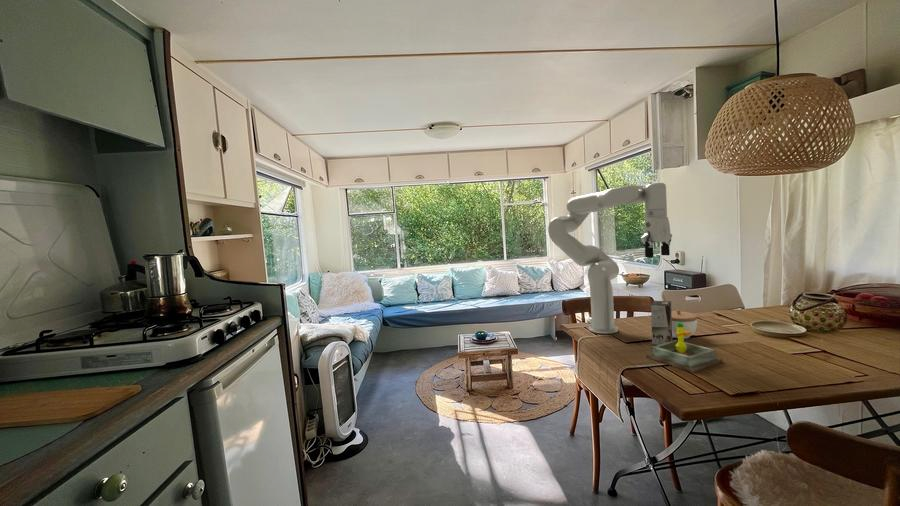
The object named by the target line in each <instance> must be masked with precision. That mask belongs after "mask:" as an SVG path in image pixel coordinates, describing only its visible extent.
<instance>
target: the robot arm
mask: <svg viewBox="0 0 900 506" xmlns="http://www.w3.org/2000/svg"><path fill="white" fill-rule="evenodd" d="M643 203H644V212H645V213H644V214H645V215H644V216H645V220H644V229H643V235H642V236H641V237H640V240H641V243H642V246H643V248H644V258H647V259H648V258H649V259H652V258H654V247H653V246H654V244H655V243H660V244H661V245H660V255H661V256H670V255H671V253H670V246H671V242H672V237H673V234H672V233H671V226H670V225H671V224H670V221H669V217H668V206H667V204H668V203H667V185H666V184H665V183H664V182H656V183H648V184H646V185H633V184H631V185H623V186H617V187H614V188H608V189H605V190H601V191H598V192H592V193H588V194H583V195H579V196H574V197H572V198H570V199H569V200H568V201H567V203H566V210H567V211H568V214H567V215H559V216H555V217H554V218H552V219H551V220H550V221H549V222H548V223H549V224H548V228H547V230H548V231H547V232H548V235H549V238H550V239H551V241H552V242H553V243H554V245H556V246H557V247H558V248H559V249H560V250H561V251H562V252H563V253H564V254H565V255H566V256H568V257H569V258H570V259H571V260H572V261H573V262H574V263H575V264H576V265H578V266H579V267H588V266H589V268H588V269H587V279H588V284H589V295H590V297H589V298H590V310H591V313H590V315H591V317H588V318H587V319H586V323H589V325H588V331H590V333H591V332H592V333H594V334H595V333H596V334H603V335H607V334H608V335H609V334H610V335H611V334H615V333H617V332H619V327H618V326H617V325H615V310H614V292H613V285H612V283H611V281H612V280H614V279H615V278H616V277H618V276H619V274H620V267H619V265H618V264H617V263H616V261H614V260H613V259H612V258H611V257H610V256H609V255H607V253H606V252H604V251H603V250H602V249H600V248H599V247H597V246H595V245H591V244H588V245H585V244H583V243H582V242H581V241H579V240H578V239H577V238H576V237H575V236H573V235H571V234H570V233H573V232H575V231H576V230H578V229H579V228H580V226H581V225H582V224H583V223H584V221H585V220H586V219H587V218H588V216H589V215H590V213H596V212H602V211H605V210H606V209H610V208H613V207H616V206H624V205H639V204H643Z"/></svg>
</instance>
